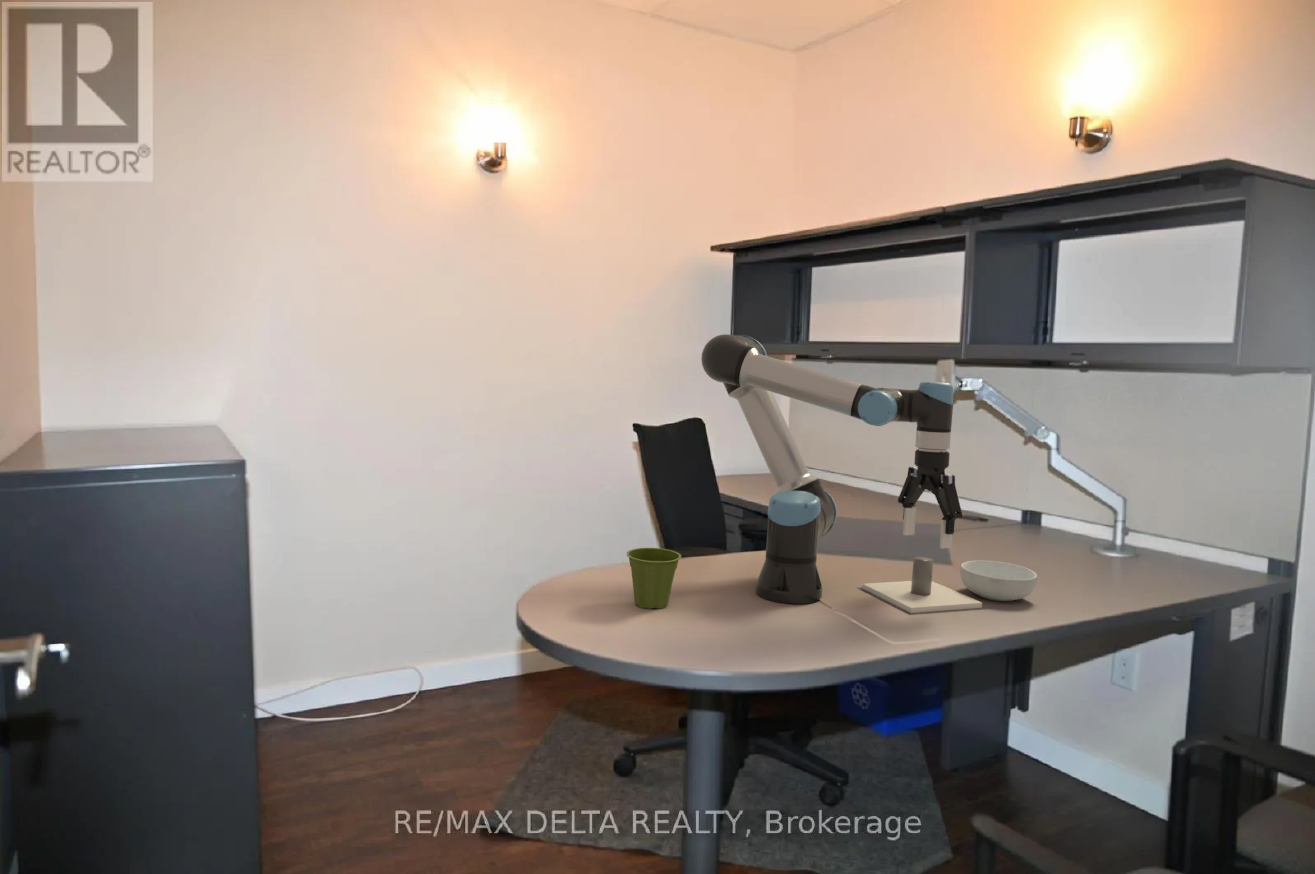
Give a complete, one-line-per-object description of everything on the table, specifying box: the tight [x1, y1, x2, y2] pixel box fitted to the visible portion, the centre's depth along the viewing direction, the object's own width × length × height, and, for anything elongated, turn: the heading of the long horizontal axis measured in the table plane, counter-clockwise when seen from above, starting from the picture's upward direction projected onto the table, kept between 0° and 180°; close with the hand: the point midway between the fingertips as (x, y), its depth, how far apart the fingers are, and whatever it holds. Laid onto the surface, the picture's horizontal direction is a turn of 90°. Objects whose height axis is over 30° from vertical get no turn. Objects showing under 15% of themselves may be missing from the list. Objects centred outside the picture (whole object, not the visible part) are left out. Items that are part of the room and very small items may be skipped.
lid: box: [862, 556, 983, 613], centre depth 199 cm, size 19×19×9 cm
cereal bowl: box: [959, 560, 1038, 602], centre depth 204 cm, size 17×17×7 cm
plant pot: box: [626, 547, 682, 610], centre depth 186 cm, size 12×12×11 cm
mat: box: [857, 586, 988, 616], centre depth 200 cm, size 21×21×1 cm
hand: (926, 541), depth 198 cm, fingers open, 13 cm apart
